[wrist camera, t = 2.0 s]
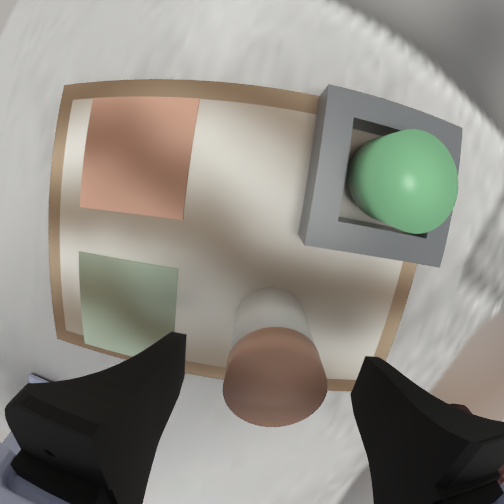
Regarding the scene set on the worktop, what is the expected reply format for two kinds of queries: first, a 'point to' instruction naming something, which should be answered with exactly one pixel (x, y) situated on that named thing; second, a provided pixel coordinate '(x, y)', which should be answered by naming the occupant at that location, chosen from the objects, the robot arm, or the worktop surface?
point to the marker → (273, 361)
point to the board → (202, 224)
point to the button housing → (334, 172)
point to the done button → (404, 180)
